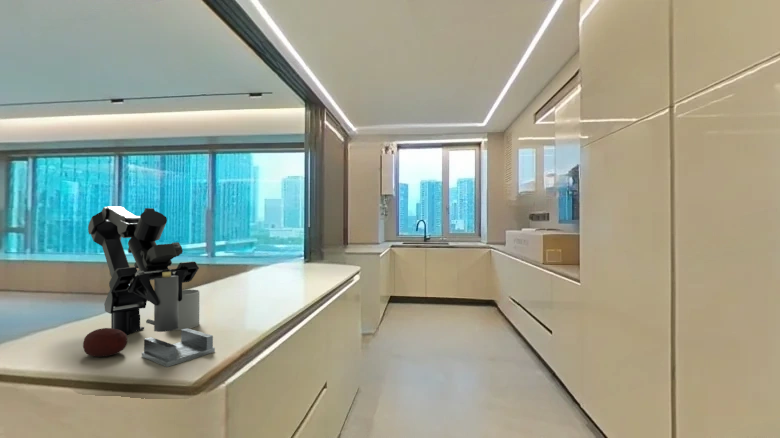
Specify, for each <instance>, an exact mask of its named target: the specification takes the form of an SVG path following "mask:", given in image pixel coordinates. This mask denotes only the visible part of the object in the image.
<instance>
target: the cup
mask: <svg viewBox="0 0 780 438" xmlns="http://www.w3.org/2000/svg"><path fill="white" fill-rule="evenodd" d="M199 325H200V290H199V289H182V300H181V301H178V328H177V329H175V330H174V331H181V330H182V329H186V328H188V329H192V328H196V327H198V326H199Z"/></svg>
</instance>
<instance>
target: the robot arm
mask: <svg viewBox="0 0 780 438" xmlns="http://www.w3.org/2000/svg"><path fill="white" fill-rule="evenodd" d="M167 222H168V218H167V216H166V215H164V214H163V213H161V212H160V211H156V210H155V208H154V207H151V208H150V207H147V208H146V207H145V208H144V210H143V212H141V214H140V215H135V214H133V213H132V212H130V211H128V210H127V209H126V208H125V207H123V206H111V205H110V206H108V205H107V206H104V207H102V210H101V211H100V212H98V213H95V214H94V215H92V216H91V218H90V221H89V223H88V226H87V231H88V232H87V233H88V234H89V235H90V236H91V238H92V241H93V243H94V242H95V244H97V245H98V246H101V247H102V250H103V254H104V256H105V260H106V263H107V267H108V270H109V272H110V273H109V274H110V275H111V277H110V280H109V282H108V285H109V291H108V294H107V295H106V298H105V300H104V301H105V302H104V311H105V312H106V313H107V314H111V321H110V323H111V325H110V328H112V329H117V330H121V331H123V332H124V333H125V334H126V335H127V336H128V335H130V334H133V333H136V332H139V331H142V330H144V329H145V326H144V327H143V326H141V314H140V309H146V306H147V303H148V302H149V303H151V304H152V305H153V306H154V305H156V306H157V305H158V304H159V300H158V297H157V295H156V293H155V291H154V286H153V285H152V283H151V281H154V278H155V277H159V276H162V272H171V276H178V301H181V300H182V290H183V283H189V282H191V281H192V280H193V279H194V277H195V275H196V274H197V272H198V271H199V269H200V267H199V265H198V263H197V262H196V261H182V262H179V264H178V265H177V267H176V268H169V267H170V266H171V265H172V263H173V262H172V260H173V259H174V258H177V257H179V256H181V254H183V247H182V244H180V242H178V241H177V242H171V243H161V244H160V243H159V244H157V243H156V241H159V240H160V239H161V236H162V234H163V231H164V229H165V227H166V225H167ZM122 239H129V240H128V241H127V245H128V248H127V252H128V254H131V255H132V257H133V259H134V261H135V262H134V265H133V266H131V267H130V265H129V262H128V261H129V260H128V258H127V256H126V253H125V250H124V246H123V243H122V241H121V240H122ZM147 301H148V302H147Z"/></svg>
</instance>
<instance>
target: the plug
mask: <svg viewBox="0 0 780 438" xmlns="http://www.w3.org/2000/svg"><path fill="white" fill-rule="evenodd" d="M153 281H154V285H153V289H154V291H155V293H156V295H157V297H158V300H159V304H158V305H157V306H156V305H154V304H153V306H154V307H153V309H154V310H153V311H154V312H153V316H154V317H153V319H154V320H153V319H150V318H148V319H146V320H145V323H146V324H149V325H151V326H152V325H153V326H154V327H153V329H154V332H157V333H158V332H159V333H162V332H169V331H176V330H175V329H177V328H178V276H171V272H162V276H159V277H155V278H154V280H153Z"/></svg>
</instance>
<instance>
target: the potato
mask: <svg viewBox="0 0 780 438" xmlns="http://www.w3.org/2000/svg"><path fill="white" fill-rule="evenodd" d="M127 344H128V334H127V335H126V334H125V333H124V332H123V331H121V330H117V329H112V328H111V327H103V328H98V329H94V330H93V331H91V332H89V333H88V334H87V335H86V336H85V337H84V340H83V343H82V347H83V351H84V353H85V354H87V355H88V356H91V357H100V358H101V357H109V356H112V355H116V354H119V353H120V352H122V351H123V350H125V348H126V347H127Z"/></svg>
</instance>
